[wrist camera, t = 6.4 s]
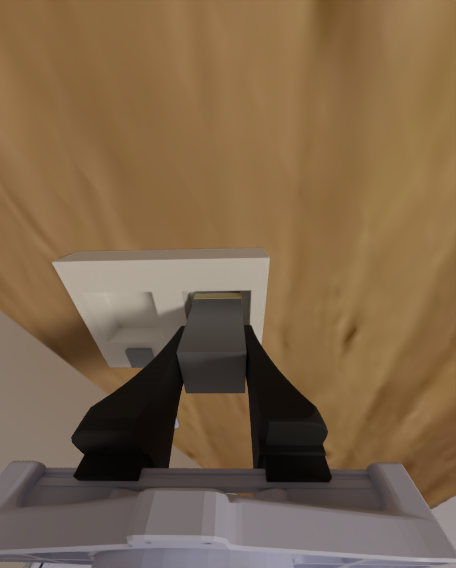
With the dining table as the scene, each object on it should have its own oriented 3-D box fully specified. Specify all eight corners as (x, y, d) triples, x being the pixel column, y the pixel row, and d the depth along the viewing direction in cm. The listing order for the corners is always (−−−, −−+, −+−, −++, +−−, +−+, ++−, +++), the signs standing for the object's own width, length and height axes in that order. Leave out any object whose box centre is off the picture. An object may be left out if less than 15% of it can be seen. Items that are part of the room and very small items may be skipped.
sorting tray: (256, 347, 20) (259, 369, 18) (122, 348, 20) (106, 370, 18) (263, 247, 14) (271, 259, 12) (78, 251, 15) (46, 263, 12)
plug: (240, 323, 18) (245, 393, 12) (200, 324, 18) (185, 393, 12) (240, 289, 16) (247, 351, 10) (196, 290, 16) (175, 351, 10)
